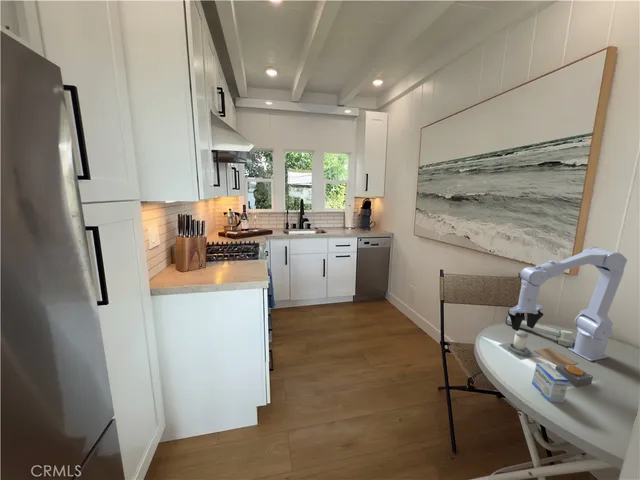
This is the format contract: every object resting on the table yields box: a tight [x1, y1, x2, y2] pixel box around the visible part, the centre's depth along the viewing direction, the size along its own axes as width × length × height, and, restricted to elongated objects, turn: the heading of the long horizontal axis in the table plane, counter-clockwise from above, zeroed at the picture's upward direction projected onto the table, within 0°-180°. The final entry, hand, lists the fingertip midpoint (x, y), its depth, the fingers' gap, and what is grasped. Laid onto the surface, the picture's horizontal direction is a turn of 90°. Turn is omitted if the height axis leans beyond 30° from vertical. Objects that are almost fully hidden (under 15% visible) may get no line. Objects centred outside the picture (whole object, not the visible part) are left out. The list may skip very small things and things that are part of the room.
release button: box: [565, 365, 584, 376], centre depth 94 cm, size 5×5×4 cm
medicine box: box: [531, 362, 570, 404], centre depth 87 cm, size 8×4×9 cm, turn 178°
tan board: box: [533, 347, 579, 366], centre depth 105 cm, size 9×10×1 cm
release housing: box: [554, 363, 594, 388], centre depth 94 cm, size 7×7×3 cm
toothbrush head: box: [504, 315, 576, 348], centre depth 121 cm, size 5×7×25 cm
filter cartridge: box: [513, 329, 529, 352], centre depth 109 cm, size 4×4×8 cm
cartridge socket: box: [498, 341, 541, 361], centre depth 110 cm, size 10×10×2 cm
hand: (522, 328), depth 107 cm, fingers open, 7 cm apart
